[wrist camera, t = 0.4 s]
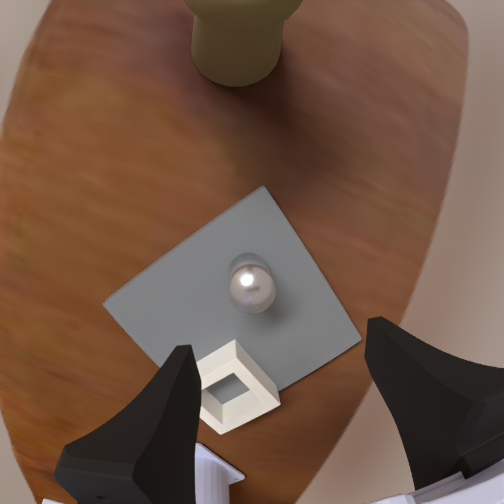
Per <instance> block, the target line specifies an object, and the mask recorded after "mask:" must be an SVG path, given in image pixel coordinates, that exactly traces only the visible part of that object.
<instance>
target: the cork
mask: <svg viewBox="0 0 504 504" xmlns="http://www.w3.org/2000/svg"><path fill="white" fill-rule="evenodd" d="M185 2H186V5H187V6H188V7H189V8H190V9H191V10H192V11H193V12H194V14H195V17H194V25H193V34H192V45H191V55H192V58H193V61H194V64H195V66H196V67H197V69H198V70H199V71H200V72H201V74H202V75H203V76H205V77H206V78H208V79H209V80H211V81H213V82H214V83H217V84H221V85H224V86H228V87H243V86H247V85H250V84H254V83H257V82H258V81H260V80H262V79H263V78H265V77H267V76H268V75H269V74H270V72H271V71H272V70H273V69H274V68H275V67H276V65H277V62H278V59H279V57H280V52H281V43H282V34H283V25H284V21H285V20H286V19H288V18H289V17H290V16H291V15H292V14H293V13H294V12H295V11H296V10H297V9H298V8H299V6H300V4H301V3H302V0H185Z"/></svg>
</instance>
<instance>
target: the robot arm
mask: <svg viewBox="0 0 504 504" xmlns="http://www.w3.org/2000/svg"><path fill="white" fill-rule="evenodd" d="M364 357H365V360H366V363H367V366H368V368H369V371H370V374H371V376H372V378H373V380H374V382H375V384H376V386H377V388H378V390H379V391H380V393H381V395H382V397H383V399H384V401H385V403H386V404H387V406H388V408H389V410H390V412H391V414H392V416H393V418H394V420H395V423H396V425H397V428H398V431H399V434H400V436H401V439H402V442H403V445H404V449H405V452H406V455H407V458H408V462H409V466H410V469H411V473H412V478H413V482H414V487H415V491H414V492H411V493H409V494H398V495H393V496H389V497H385V498H382V499H379V500H376V501H373V502H369V503H366V504H504V368H497V367H492V366H486V365H482V364H478V363H474V362H471V361H467V360H464V359H461V358H458V357H456V356H453V355H451V354H448V353H446V352H443V351H441V350H439V349H437V348H435V347H433V346H431V345H429V344H427V343H425V342H423V341H421V340H420V339H418V338H416V337H415V336H413V335H411V334H410V333H408V332H406V331H405V330H403V329H401V328H400V327H398V326H397V325H395V324H394V323H392V322H390V321H389V320H387V319H385V318H383V317H382V316H380V317H375V318H370V319H368V324H367V336H366V347H365V356H364ZM201 402H202V381H201V377H200V374H199V370H198V367H197V363H196V360H195V356H194V353H193V349H192V345H191V344H189V345H177V346H176V347H175V348H174V349H173V351H172V352H171V354H170V355H169V357H168V358H167V359H166V361H165V362H164V364H163V365H162V366H161V368H160V369H159V370H158V372H157V373H156V374H155V376H154V377H153V378H152V379H151V381H150V382H149V383H148V384H147V385H146V387H145V388H144V389H143V390H142V391H141V392H140V393H139V395H138V396H137V397H136V398H135V399H134V400H133V401H132V402H130V403H129V404H128V405H127V406H126V407H125V408H124V409H123V410H122V411H120V412H119V413H118V414H116V415H115V416H114V417H113V418H111V419H110V420H109V421H107V422H106V423H105V424H103V425H102V426H100V427H99V428H97V429H95V430H94V431H92V432H90V433H89V434H87V435H85V436H83V437H81V438H79V439H77V440H75V441H73V442H71V443H69V444H67V445H65V446H64V449H63V451H62V453H61V456H60V458H59V461H58V464H57V466H56V469H55V472H54V476H55V478H56V480H57V482H58V483H59V484H60V485H61V486H62V487H63V488H64V489H65V490H66V491H67V492H68V493H69V494H70V495H71V496H72V497H73V498H74V499H76V500H77V501H78V503H77V504H230V502H229V485H230V484H232V483H235V482H238V481H240V480H243V479H244V478H245V475H244V474H243V473H241V472H240V471H238V470H237V469H235V468H234V467H232V466H231V465H230V464H228V463H227V462H225V461H224V460H222V459H221V458H220V457H218V456H217V455H216V454H214V453H213V452H212V451H210V450H209V449H208V448H206V447H205V446H204V445H202V444H200V443H196V439H197V432H198V425H199V418H200V410H201ZM42 504H64V503H60V502H57V501H53V500H49V499H43V502H42Z"/></svg>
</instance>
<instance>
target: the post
mask: <svg viewBox="0 0 504 504" xmlns="http://www.w3.org/2000/svg"><path fill="white" fill-rule="evenodd" d="M275 295H276V288H275V285H274V282H273V279H272V277H271V274H270V272H269V269H268V267H267V264H266V262H265V261H264V259H263V258H262V257H260V256H259V255H257V254H254V253H243V254H240V255H238V256H237V257H235V258H234V259H233V260H232V262H231V263H230V266H229V296H230V300H231V302H232V304H233V305H234V306H235V307H236V308H237V309H238V310H240V311H242V312H244V313H248V314H255V313H260V312H262V311H264V310H266V309H267V308H268V307H269V306H270V305H271V304H272V303H273V301H274V299H275Z"/></svg>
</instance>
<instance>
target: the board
mask: <svg viewBox="0 0 504 504" xmlns="http://www.w3.org/2000/svg"><path fill="white" fill-rule="evenodd" d="M243 253H254V254H257V255H259V256H260V257H262V258H263V259H264V261H265V262H266V264H267V267H268V269H269V272H270V274H271V277H272V279H273V282H274V285H275V288H276V295H275V299H274V301H273V303H272V304H271V305H270V306H269V307H268V308H267V309H266V310H264V311H262V312H260V313H255V314H248V313H244V312H242V311H240V310H238V309H237V308H236V307H235V306H234V305H233V304H232V302H231V300H230V296H229V266H230V263H231V262H232V260H233V259H234V258H235V257H237V256H238V255H240V254H243ZM103 306H104V307H105V308H106V309H107V310H108V312H109V313H110V314H111V315H112V316H113V317H114V319H115V320H116V321H117V322H118V323H119V324H120V325H121V327H122V328H123V329H124V330H125V331H126V332H127V333H128V334H129V335H130V337H131V338H132V339H133V340H134V341H135V342H136V343H137V344H138V345H139V346H140V347H141V348H142V350H143V351H144V352H145V353H146V354H147V355H148V356H149V357H150V358H151V359H152V360H153V361H154V362H155V363H156V364H157V365H158V366H159V367H160V368H161V366H162V365H163V364H164V362H165V361H166V359H167V358H168V357H169V355H170V354H171V352H172V351H173V349H174V348H175V347H176V346H177V345H189V344H191V345H192V349H193V353H194V356H195V360H196V362H198V361H199V360H201V359H203V358H204V357H206V356H208V355H209V354H211V353H213V352H214V351H216V350H218V349H219V348H221V347H223V346H224V345H226V344H228V343H229V342H231V341H233V340H234V339H236V341H237V342H238V343H239V344H240V345H241V346H242V347H243V349H244V350H245V351H246V352H247V353H248V354H249V355H250V357H251V358H252V359H253V360H254V361H255V362H256V363H257V365H258V366H259V367H260V368H261V369H262V370H263V371H264V372H265V373H266V375H267V376H268V377H269V378H270V379H271V380H272V381H273V382H274V383H275V384H276V386H277V391H280V390H282V389H284V388H285V387H287V386H289V385H291V384H292V383H294V382H296V381H298V380H299V379H301V378H303V377H304V376H306V375H308V374H309V373H311V372H313V371H314V370H316V369H317V368H319V367H321V366H322V365H324V364H325V363H327V362H329V361H330V360H332V359H333V358H335V357H337V356H338V355H340V354H341V353H343V352H344V351H346V350H347V349H349V348H350V347H352V346H353V345H355V344H356V343H358V342H359V341H361V340H362V338H361V336H360V335H359V333H358V331H357V330H356V328H355V326H354V325H353V323H352V321H351V320H350V318H349V316H348V315H347V313H346V312H345V310H344V308H343V307H342V305H341V303H340V302H339V300H338V299H337V297H336V295H335V294H334V292H333V290H332V289H331V287H330V286H329V284H328V283H327V281H326V279H325V278H324V276H323V275H322V273H321V271H320V270H319V268H318V267H317V265H316V264H315V262H314V260H313V259H312V257H311V256H310V254H309V253H308V251H307V250H306V248H305V246H304V245H303V243H302V242H301V240H300V239H299V237H298V236H297V234H296V233H295V231H294V230H293V228H292V227H291V225H290V224H289V222H288V221H287V219H286V218H285V216H284V215H283V213H282V212H281V210H280V209H279V207H278V206H277V204H276V203H275V201H274V200H273V198H272V197H271V195H270V194H269V192H268V191H267V189H266V188H265V187H264V186H263V185H262V186H261V187H259V188H258V189H256V190H255V191H253V192H252V193H250V194H249V195H247V196H246V197H245V198H243V199H242V200H240V201H239V202H237V203H236V204H234V205H233V206H232V207H230V208H229V209H227V210H226V211H224V212H223V213H222V214H220V215H219V216H217V217H216V218H214V219H213V220H212V221H210V222H209V223H207V224H206V225H205V226H203V227H202V228H200V229H199V230H198V231H196V232H195V233H193V234H192V235H191V236H189V237H188V238H187V239H185V240H184V241H182V242H181V243H180V244H178V245H177V246H176V247H174V248H173V249H172V250H170V251H169V252H167V253H166V254H165V255H163V256H162V257H161V258H159V259H158V260H157V261H155V262H154V263H153V264H151V265H150V266H149V267H147V268H146V269H145V270H143V271H142V272H141V273H139V274H138V275H137V276H135V277H134V278H133V279H131V280H130V281H129V282H128V283H126V284H125V285H124V286H122V287H121V288H120V289H118V290H117V291H116V292H115V293H113V294H112V295H111V296H109V297H108V298H107V299H106V301H105V302H104V303H103ZM205 389H206V390H207V391H208V392H209V393H210V394H212V395H213V396H214V397H215V398H216V399H217V400H218V401H219V402H220V403H221V404H222V405H223V404H225V403H227V402H228V401H230V400H232V399H234V398H236V397H238V396H240V395H242V394H243V393H245V392H247V391H249V390H250V389H249V388H248V387H247V386H246V385H245V384H244V383H243V382H242V381H241V380H240V379H239V378H238V377H237V376H236V375H235V374H234V373H231V374H230V375H228V376H226V377H224V378H223V379H221V380H219V381H217V382H215V383H214V384H212V385H210V386H208V387H206V388H205Z"/></svg>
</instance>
